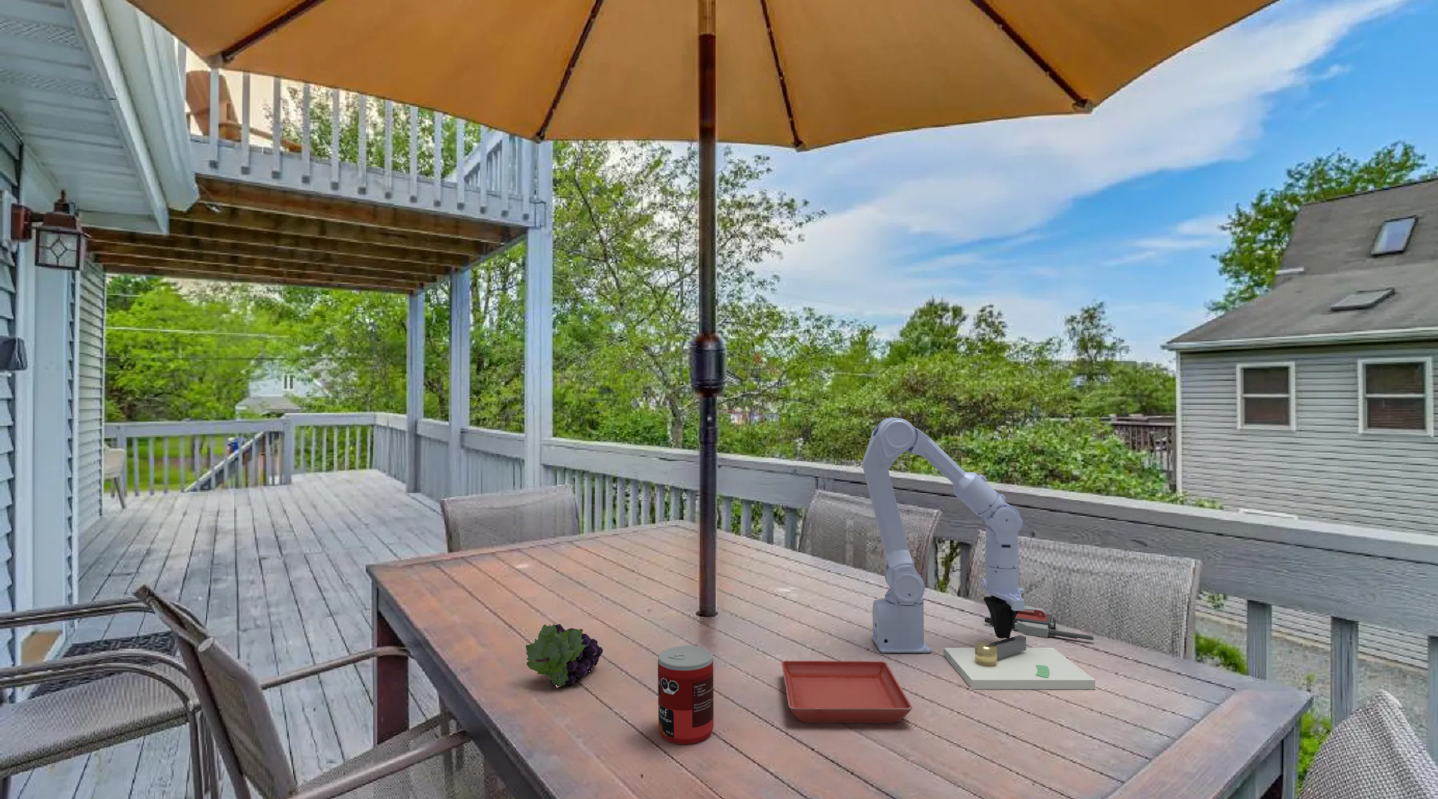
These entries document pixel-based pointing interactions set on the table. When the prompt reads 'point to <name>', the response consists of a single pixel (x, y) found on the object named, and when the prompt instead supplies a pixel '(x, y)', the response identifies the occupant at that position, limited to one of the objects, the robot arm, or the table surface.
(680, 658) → the canned food
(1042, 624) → the walkie-talkie
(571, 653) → the fruit
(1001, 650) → the dial lever
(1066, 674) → the dial board
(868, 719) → the plant saucer
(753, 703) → the table surface
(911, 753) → the table surface
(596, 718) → the table surface
